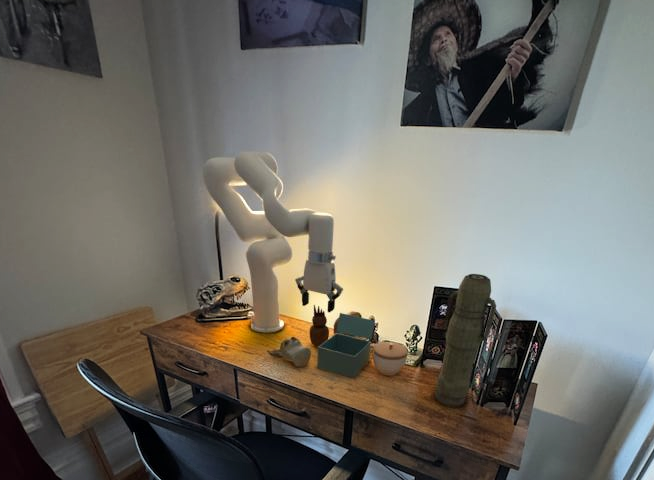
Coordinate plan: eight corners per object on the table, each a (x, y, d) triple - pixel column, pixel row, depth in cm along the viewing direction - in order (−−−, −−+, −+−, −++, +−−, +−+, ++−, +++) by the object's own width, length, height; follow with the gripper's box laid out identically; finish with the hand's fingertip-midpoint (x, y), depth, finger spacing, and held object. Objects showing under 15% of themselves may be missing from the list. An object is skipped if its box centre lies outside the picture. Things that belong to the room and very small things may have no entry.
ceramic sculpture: (294, 347, 112) (263, 334, 121) (295, 374, 116) (266, 359, 125) (320, 338, 119) (289, 326, 128) (320, 363, 123) (291, 350, 132)
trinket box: (386, 359, 128) (389, 334, 123) (411, 371, 121) (415, 345, 116) (364, 369, 121) (366, 343, 116) (390, 383, 115) (393, 355, 110)
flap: (339, 312, 125) (340, 312, 125) (336, 331, 126) (336, 331, 126) (375, 320, 120) (375, 320, 121) (370, 339, 122) (371, 339, 122)
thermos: (435, 384, 115) (459, 268, 97) (474, 397, 110) (506, 277, 92) (424, 397, 108) (447, 275, 90) (464, 412, 103) (498, 285, 85)
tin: (338, 342, 137) (339, 320, 133) (331, 340, 139) (332, 318, 134) (362, 330, 148) (363, 310, 143) (355, 328, 149) (356, 308, 145)
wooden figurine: (307, 347, 133) (307, 306, 125) (311, 340, 138) (312, 300, 130) (326, 349, 132) (327, 308, 124) (330, 342, 137) (331, 302, 129)
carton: (317, 367, 121) (317, 347, 117) (335, 352, 130) (336, 333, 127) (353, 377, 116) (355, 356, 112) (369, 361, 126) (371, 341, 122)
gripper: (349, 258, 119) (345, 310, 128) (302, 249, 125) (301, 299, 134) (339, 263, 113) (335, 317, 122) (290, 253, 119) (290, 305, 128)
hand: (317, 307), depth 128 cm, fingers open, 9 cm apart
